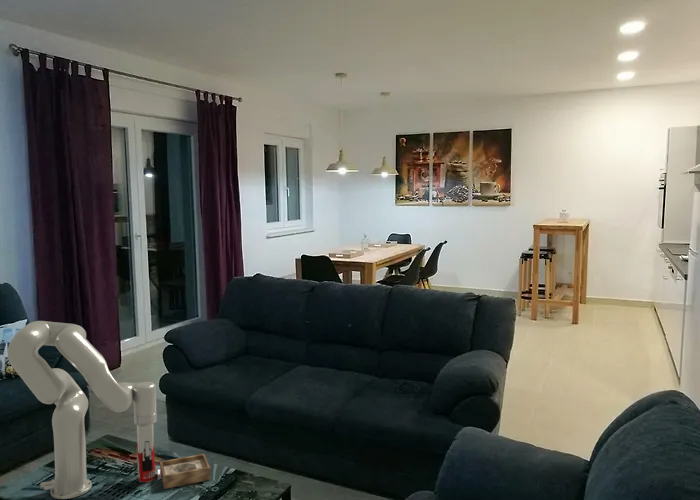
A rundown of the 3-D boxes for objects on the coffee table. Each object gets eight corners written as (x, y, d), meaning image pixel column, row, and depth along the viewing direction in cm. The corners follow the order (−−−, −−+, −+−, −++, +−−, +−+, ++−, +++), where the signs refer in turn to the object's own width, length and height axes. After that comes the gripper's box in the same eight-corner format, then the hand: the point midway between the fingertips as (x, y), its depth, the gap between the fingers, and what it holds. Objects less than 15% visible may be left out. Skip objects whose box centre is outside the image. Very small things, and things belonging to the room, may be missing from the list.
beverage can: (158, 475, 196) (157, 435, 195) (150, 484, 190) (149, 443, 189) (142, 474, 197) (142, 434, 196) (133, 483, 190) (133, 442, 189)
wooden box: (163, 488, 187) (163, 476, 187) (160, 473, 198) (159, 461, 198) (210, 479, 194) (210, 467, 194) (204, 465, 205) (204, 453, 204)
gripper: (132, 410, 198) (133, 458, 199) (135, 428, 182) (136, 479, 183) (154, 407, 201) (155, 454, 202) (159, 424, 185) (160, 475, 187)
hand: (146, 466), depth 193 cm, fingers closed on beverage can, 5 cm apart
